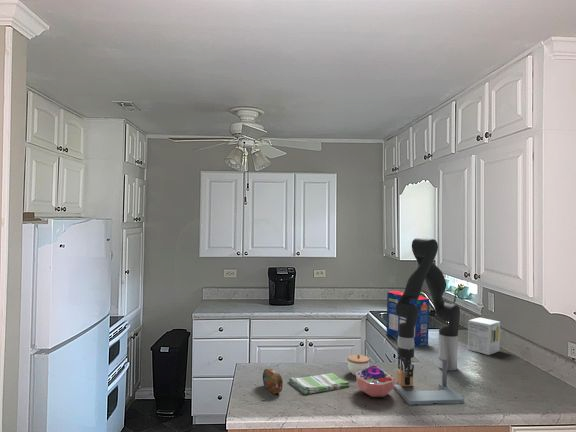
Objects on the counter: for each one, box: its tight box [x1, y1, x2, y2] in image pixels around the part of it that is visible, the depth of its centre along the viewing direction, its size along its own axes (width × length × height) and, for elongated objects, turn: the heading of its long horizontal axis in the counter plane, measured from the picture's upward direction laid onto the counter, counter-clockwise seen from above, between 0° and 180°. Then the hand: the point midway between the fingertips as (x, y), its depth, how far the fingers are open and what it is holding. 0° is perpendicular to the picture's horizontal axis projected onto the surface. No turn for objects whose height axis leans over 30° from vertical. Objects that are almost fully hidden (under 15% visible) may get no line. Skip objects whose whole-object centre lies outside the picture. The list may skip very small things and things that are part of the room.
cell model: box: [355, 365, 396, 398], centre depth 199 cm, size 17×20×11 cm
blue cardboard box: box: [386, 290, 430, 347], centre depth 286 cm, size 28×8×28 cm, turn 30°
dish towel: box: [288, 372, 350, 395], centre depth 208 cm, size 17×23×4 cm
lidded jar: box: [347, 354, 370, 376], centre depth 223 cm, size 11×11×9 cm
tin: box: [262, 368, 284, 395], centre depth 201 cm, size 15×3×8 cm, turn 29°
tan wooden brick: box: [396, 369, 414, 387], centre depth 211 cm, size 5×6×6 cm
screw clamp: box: [393, 357, 465, 406], centre depth 200 cm, size 20×24×14 cm
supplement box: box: [467, 317, 501, 356], centre depth 266 cm, size 13×13×18 cm
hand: (405, 382), depth 211 cm, fingers open, 5 cm apart
